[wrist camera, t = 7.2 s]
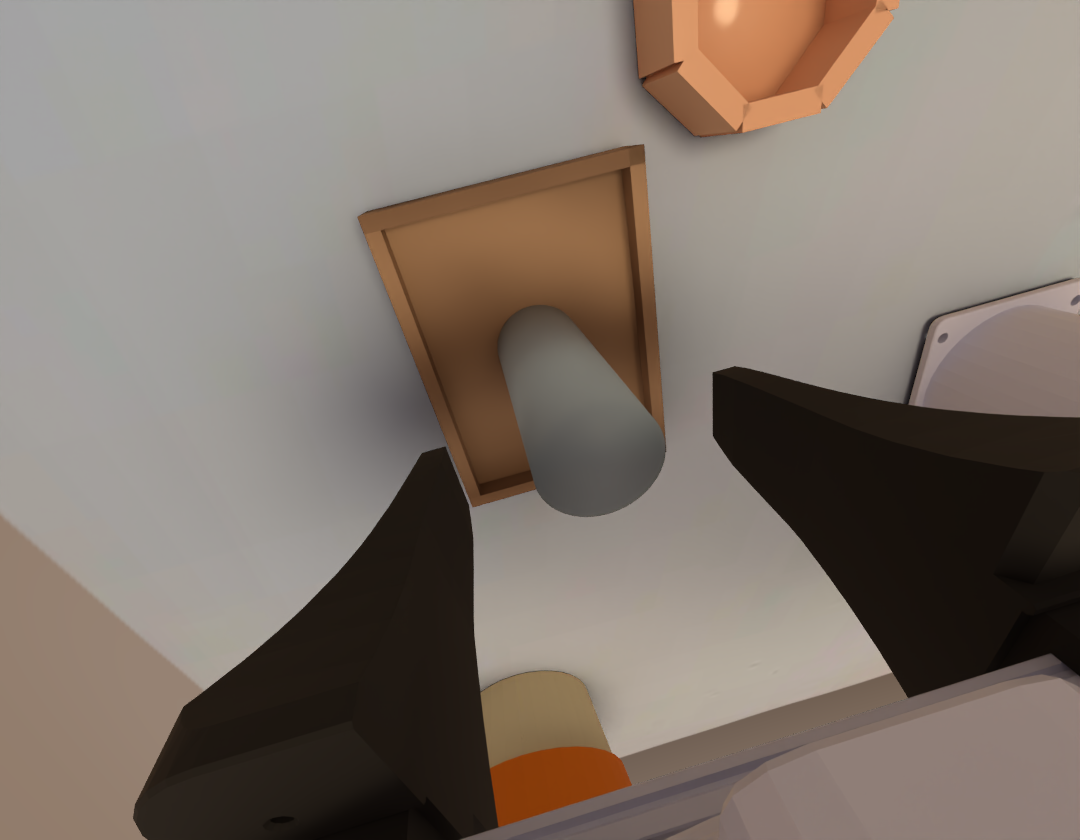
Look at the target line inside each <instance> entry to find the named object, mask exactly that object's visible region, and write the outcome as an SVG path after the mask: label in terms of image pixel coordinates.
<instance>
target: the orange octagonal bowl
mask: <svg viewBox="0 0 1080 840" xmlns="http://www.w3.org/2000/svg"><path fill="white" fill-rule="evenodd" d="M633 4H634V18H635V32H636V45H637V59H638V73H639V79H640V78H644V77H646V80H645V81H644V83H643V85H642V86H643V87H644V88H645V89H646V90H647V91H648V92H649V93H650V94H651V95H652V96H653V97H654V98H655V99H656V100H657V101H659V102H660V103H661V104H662V105H663V106H664V107H665V108H666V109H667V110H668V111H669V112H670V113H671V114H672V115H673V116H674V117H675V118H676V119H677V120H678V121H680V122H681V123H682V124H683V125H684V126H685V127H686V128H687V129H688V130H689V131H690V132H691V133H692V134H693V135H694V136H698V135H700V137H707V136H716V135H726V134H735V133H743V132H747V131H751V130H755V129H759V128H763V127H767V126H771V125H775V124H779V123H783V122H787V121H790V120H794V119H798V118H802V117H806V116H810V115H814V114H818V113H821V109H824V108H827V107H828V106H829V105H830V103H831V102H832V101H833V99H834V98H835V97H836V95H837V94H838V93H839V91H840V90H841V88H842V87H843V86H844V84H845V83H846V82H847V80H848V79H849V78H850V76H851V75H852V74H853V72H854V71H855V70H856V68H857V67H858V66H859V64H860V63H861V62H862V60H863V59H864V58H865V56H866V55H867V53H868V52H869V51H870V49H871V48H872V47H873V45H874V44H875V43H876V41H877V40H878V39H879V37H880V36H881V35H882V33H883V32H884V31H885V29H886V28H887V27H888V25H889V24H890V23H891V21H892V20H893V19H894V17H893V16H892V14H891V13H890V11H891V10H894V9H897V8H898V6H899V0H633Z"/></svg>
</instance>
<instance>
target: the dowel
mask: <svg viewBox="0 0 1080 840" xmlns="http://www.w3.org/2000/svg"><path fill="white" fill-rule="evenodd" d="M498 355H499V359H500V363H501V366H502V370H503V373H504V377H505V380H506V384H507V388H508V391H509V395H510V398H511V402H512V405H513V409H514V413H515V416H516V420H517V423H518V427H519V430H520V434H521V438H522V441H523V445H524V448H525V452H526V456H527V459H528V463H529V466H530V470H531V473H532V477H533V481H534V484H535V487H536V489H537V491H538V493H539V495H540V496H541V497H542V499H543V500H544V501H545V502H546V503H547V504H549V505H550V506H551V507H552V508H554V509H556V510H558V511H560V512H562V513H565V514H568V515H572V516H579V517H592V516H600V515H605V514H609V513H612V512H615V511H617V510H620V509H622V508H624V507H626V506H628V505H629V504H631V503H632V502H634V501H635V500H637V499H638V498H639V497H641V496H642V495H643V494H644V493H645V492H646V491H647V490H648V489H649V488H650V487H651V485H652V484H653V483H654V481H655V480H656V478H657V477H658V475H659V473H660V471H661V468H662V466H663V463H664V459H665V451H666V447H665V439H664V435H663V432H662V430H661V428H660V426H659V424H658V423H657V422H656V420H655V419H654V418H653V417H652V416H651V414H650V413H649V412H648V411H647V410H646V408H645V407H644V406H643V405H642V404H641V402H640V401H639V400H638V399H637V398H636V396H635V395H634V394H633V393H632V392H631V390H630V389H629V388H628V387H627V386H626V384H625V383H624V382H623V381H622V380H621V378H620V377H619V376H618V375H617V374H616V372H615V371H614V370H613V369H612V368H611V366H610V365H609V364H608V363H607V362H606V360H605V359H604V358H603V357H602V356H601V354H600V353H599V352H598V351H597V350H596V348H595V347H594V346H593V345H592V344H591V342H590V341H589V340H588V339H587V338H586V336H585V335H584V334H583V333H582V332H581V330H580V329H579V328H578V327H577V326H576V324H575V323H574V322H573V321H572V320H571V318H570V317H569V316H568V315H567V314H566V313H564V312H563V311H561V310H560V309H558V308H555V307H552V306H548V305H533V306H529V307H526V308H523V309H521V310H519V311H518V312H516V313H515V314H513V315H512V316H511V317H510V318H509V319H508V320H507V322H506V323H505V324H504V326H503V327H502V330H501V332H500V334H499V338H498Z"/></svg>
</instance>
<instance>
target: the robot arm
mask: <svg viewBox="0 0 1080 840" xmlns="http://www.w3.org/2000/svg"><path fill="white" fill-rule="evenodd" d="M1079 309H1080V278H1075V279H1072V280H1068V281H1065V282H1061V283H1057V284H1054V285H1050V286H1047V287H1043V288H1040V289H1036V290H1033V291H1029V292H1025V293H1022V294H1018V295H1015V296H1011V297H1008V298H1004V299H1001V300H997V301H993V302H990V303H986V304H983V305H979V306H976V307H972V308H969V309H965V310H962V311H958V312H954V313H951V314H947V315H944V316H941V317H939V318H937V319H935V320H934V321H933V322H932V324H931V325H930V327H929V331H928V334H927V338H926V342H925V345H924V349H923V353H922V356H921V360H920V364H919V367H918V371H917V375H916V378H915V382H914V386H913V389H912V393H911V397H910V400H909V404H908V405H907V404H901V403H894V402H888V401H882V400H876V399H871V398H866V397H861V396H857V395H852V394H847V393H843V392H838V391H834V390H830V389H826V388H821V387H817V386H813V385H810V384H806V383H802V382H798V381H794V380H791V379H787V378H783V377H779V376H776V375H772V374H768V373H764V372H760V371H756V370H752V369H747V368H742V367H736V366H734V367H731V368H727V369H723V370H720V371H716V372H713V437H714V438H715V440H716V442H717V443H718V445H719V446H720V448H721V449H722V451H723V452H724V454H725V455H726V456H727V458H728V459H729V461H730V462H731V463H732V465H733V466H734V467H735V468H736V469H737V470H738V471H739V473H740V474H741V475H742V476H743V477H744V478H745V479H746V480H747V481H748V482H749V483H750V485H751V486H752V487H753V488H754V489H755V490H756V491H757V492H758V493H759V494H760V495H761V496H762V497H763V498H764V499H765V501H766V502H767V503H768V504H769V505H770V506H771V507H772V508H773V509H774V510H775V511H776V512H777V513H778V514H779V515H780V517H781V518H782V519H783V520H784V521H785V522H786V523H787V524H788V525H789V526H790V527H791V529H792V530H793V531H794V532H795V533H796V534H797V536H798V537H799V538H800V539H801V540H802V542H803V543H804V544H805V546H806V547H807V548H808V550H809V551H810V552H811V554H812V555H813V556H814V557H815V559H816V560H817V561H818V563H819V564H820V565H821V567H822V568H823V569H824V571H825V572H826V574H827V575H828V576H829V578H830V579H831V581H832V582H833V583H834V585H835V586H836V588H837V589H838V590H839V592H840V593H841V595H842V596H843V598H844V599H845V600H846V602H847V603H848V605H849V606H850V607H851V609H852V610H853V612H854V613H855V615H856V616H857V618H858V619H859V621H860V622H861V624H862V625H863V627H864V629H865V630H866V632H867V633H868V635H869V636H870V638H871V639H872V641H873V642H874V644H875V645H876V647H877V648H878V650H879V651H880V653H881V654H882V656H883V658H884V659H885V661H886V663H887V664H888V666H889V667H890V669H891V671H892V672H893V674H894V676H895V677H896V679H897V680H898V682H899V683H900V685H901V687H902V689H903V690H904V692H905V693H906V695H907V697H908V699H905V700H901V701H898V702H895V703H892V704H889V705H885V706H882V707H879V708H876V709H873V710H869V711H866V712H863V713H860V714H857V715H854V716H850V717H847V718H844V719H841V720H838V721H834V722H832V723H828V724H825V725H822V726H819V727H816V728H812V729H809V730H806V731H803V732H800V733H796V734H793V735H790V736H787V737H784V738H781V739H777V740H774V741H771V742H768V743H765V744H762V745H759V746H756V747H752V748H749V749H746V750H743V751H740V752H737V753H733V754H730V755H727V756H724V757H721V758H717V759H714V760H711V761H708V762H705V763H701V764H698V765H695V766H692V767H689V768H685V769H682V770H679V771H676V772H673V773H670V774H666V775H663V776H660V777H657V778H654V779H651V780H647V781H645V782H641V783H638V784H635V785H632V786H628V787H625V788H622V789H619V790H616V791H613V792H609V793H606V794H603V795H600V796H597V797H594V798H590V799H587V800H584V801H581V802H578V803H575V804H571V805H568V806H565V807H562V808H559V809H556V810H552V811H549V812H546V813H543V814H540V815H536V816H533V817H530V818H527V819H524V820H521V821H517V822H514V823H511V824H508V825H505V826H502V827H499V826H498V820H497V813H496V806H495V799H494V792H493V786H492V779H491V772H490V765H489V757H488V749H487V742H486V734H485V727H484V719H483V711H482V702H481V694H480V685H479V677H478V667H477V657H476V648H475V638H474V559H473V532H472V524H471V517H470V510H469V504H468V502H467V500H466V497H465V495H464V492H463V490H462V487H461V485H460V482H459V480H458V477H457V475H456V472H455V470H454V467H453V465H452V462H451V460H450V457H449V455H448V452H447V450H446V447H442V448H439V449H435V450H431V451H428V452H424V453H422V454H421V456H420V457H419V459H418V460H417V462H416V464H415V465H414V467H413V469H412V470H411V472H410V474H409V475H408V477H407V479H406V480H405V482H404V484H403V485H402V487H401V489H400V490H399V492H398V493H397V495H396V497H395V498H394V500H393V501H392V503H391V504H390V506H389V508H388V509H387V510H386V512H385V513H384V515H383V516H382V517H381V519H380V520H379V522H378V523H377V525H376V526H375V527H374V529H373V530H372V532H371V533H370V534H369V536H368V537H367V538H366V540H365V541H364V542H363V544H362V545H361V546H360V547H359V548H358V550H357V551H356V552H355V553H354V555H353V556H352V557H351V558H350V559H349V560H348V562H347V563H346V564H345V565H344V566H343V567H342V568H341V570H340V571H339V572H338V573H337V574H336V575H335V576H334V577H333V578H332V579H331V580H330V581H329V582H328V583H327V584H326V585H325V586H324V587H323V588H322V590H321V591H320V592H319V593H318V594H317V595H316V596H315V597H314V598H313V599H312V600H311V601H310V602H309V603H308V604H307V605H306V606H305V607H304V608H303V609H302V610H301V611H300V612H299V613H298V614H296V615H295V616H294V617H293V618H292V619H291V620H290V621H289V622H288V623H287V624H285V625H284V626H283V627H282V628H281V629H280V630H279V631H278V632H277V633H275V634H274V635H273V636H272V637H271V638H270V639H268V640H267V641H266V642H265V643H264V644H263V645H262V646H260V647H259V648H258V649H257V650H256V651H254V652H253V653H252V654H251V655H250V656H248V657H247V658H246V659H245V660H244V661H242V662H241V663H240V664H238V665H237V666H236V667H235V668H233V669H232V670H231V671H229V672H228V673H227V674H226V675H224V676H223V677H222V678H220V679H219V680H218V681H217V682H215V683H214V684H213V685H211V686H210V687H209V688H208V689H206V690H205V691H204V692H202V693H201V694H200V695H199V696H197V697H196V698H195V699H193V700H192V701H191V702H189V703H188V704H187V705H185V706H184V707H183V709H182V711H181V713H180V715H179V717H178V719H177V721H176V723H175V725H174V727H173V729H172V731H171V733H170V735H169V737H168V739H167V741H166V743H165V745H164V747H163V749H162V751H161V753H160V755H159V757H158V759H157V761H156V763H155V765H154V767H153V769H152V771H151V773H150V775H149V777H148V779H147V781H146V783H145V786H144V788H143V790H142V792H141V794H140V796H139V798H138V800H137V802H136V804H135V809H134V816H133V819H134V821H135V823H136V825H137V827H138V828H139V830H140V832H141V834H142V836H144V837H145V838H146V839H148V840H1080V315H1078V311H1079Z"/></svg>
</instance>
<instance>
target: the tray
mask: <svg viewBox="0 0 1080 840" xmlns="http://www.w3.org/2000/svg"><path fill="white" fill-rule="evenodd" d="M358 220H359V222H360V225H361V227H362V230H363V232H364V235H365V237H366V240H367V242H368V245H369V247H370V250H371V252H372V255H373V258H374V260H375V263H376V265H377V268H378V270H379V273H380V275H381V278H382V280H383V283H384V285H385V288H386V290H387V293H388V295H389V298H390V300H391V303H392V305H393V308H394V310H395V313H396V315H397V318H398V320H399V323H400V326H401V328H402V331H403V333H404V336H405V338H406V341H407V343H408V346H409V348H410V351H411V353H412V356H413V358H414V361H415V363H416V366H417V368H418V371H419V373H420V376H421V378H422V381H423V383H424V386H425V388H426V391H427V394H428V396H429V399H430V401H431V404H432V406H433V409H434V411H435V414H436V416H437V419H438V421H439V424H440V426H441V429H442V431H443V434H444V436H445V439H446V441H447V444H448V446H449V449H450V451H451V454H452V457H453V459H454V462H455V464H456V467H457V469H458V472H459V474H460V477H461V479H462V482H463V484H464V487H465V489H466V492H467V494H468V497H469V499H470V502H471V504H472V507H476V506H479V505H483V504H486V503H490V502H493V501H497V500H500V499H504V498H507V497H511V496H514V495H518V494H521V493H525V492H528V491H531V490H535V489H536V487H535V484H534V481H533V477H532V473H531V470H530V466H529V463H528V459H527V456H526V452H525V448H524V445H523V441H522V438H521V434H520V430H519V427H518V423H517V420H516V416H515V413H514V409H513V405H512V402H511V398H510V395H509V391H508V388H507V384H506V380H505V377H504V373H503V370H502V366H501V363H500V359H499V355H498V338H499V334H500V332H501V330H502V327H503V326H504V324H505V323H506V322H507V320H508V319H509V318H510V317H511V316H512V315H513V314H515V313H516V312H518V311H519V310H521V309H523V308H526V307H529V306H533V305H548V306H552V307H555V308H558V309H560V310H561V311H563V312H564V313H566V314H567V315H568V316H569V317H570V318H571V320H572V321H573V322H574V323H575V324H576V326H577V327H578V328H579V329H580V330H581V332H582V333H583V334H584V335H585V336H586V338H587V339H588V340H589V341H590V342H591V344H592V345H593V346H594V347H595V348H596V350H597V351H598V352H599V353H600V354H601V356H602V357H603V358H604V359H605V360H606V362H607V363H608V364H609V365H610V366H611V368H612V369H613V370H614V371H615V372H616V374H617V375H618V376H619V377H620V378H621V380H622V381H623V382H624V383H625V384H626V386H627V387H628V388H629V389H630V390H631V392H632V393H633V394H634V395H635V396H636V398H637V399H638V400H639V401H640V402H641V404H642V405H643V406H644V407H645V408H646V410H647V411H648V412H649V413H650V414H651V416H652V417H653V418H654V419H655V420H656V422H657V423H658V424H659V426H660V428H661V430H662V432H663V435H664V439H665V428H664V414H663V400H662V386H661V372H660V358H659V345H658V331H657V317H656V303H655V289H654V276H653V262H652V248H651V234H650V220H649V207H648V193H647V179H646V165H645V151H644V144H643V145H633V146H624V147H620V148H616V149H612V150H608V151H604V152H600V153H596V154H592V155H588V156H584V157H580V158H576V159H572V160H568V161H564V162H560V163H556V164H553V165H549V166H545V167H541V168H537V169H533V170H529V171H525V172H521V173H517V174H513V175H509V176H505V177H501V178H497V179H493V180H489V181H485V182H481V183H478V184H474V185H470V186H466V187H462V188H458V189H454V190H450V191H446V192H442V193H438V194H434V195H430V196H426V197H422V198H418V199H414V200H410V201H407V202H403V203H399V204H395V205H391V206H387V207H383V208H379V209H375V210H371V211H367V212H365V213H364V214H362V215H360V216H358ZM665 447H666V441H665ZM665 452H666V451H665Z"/></svg>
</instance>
